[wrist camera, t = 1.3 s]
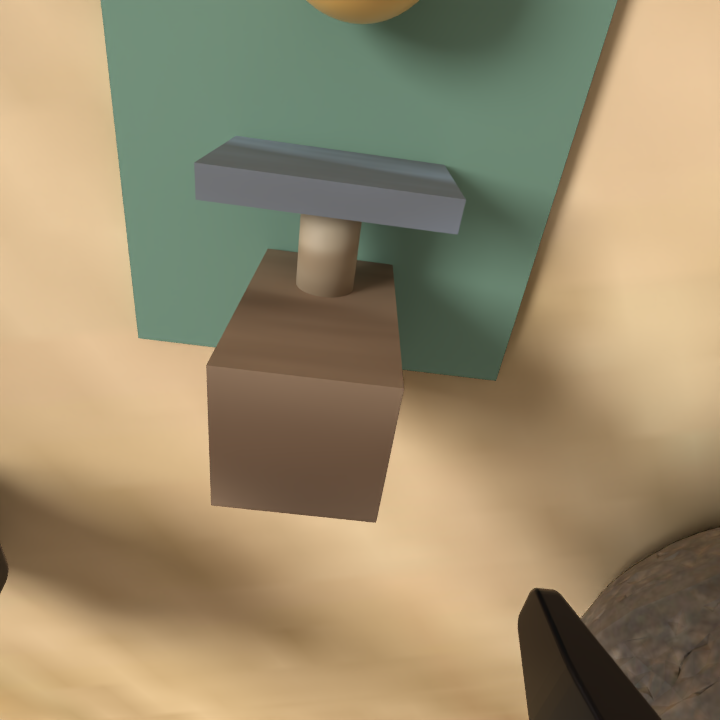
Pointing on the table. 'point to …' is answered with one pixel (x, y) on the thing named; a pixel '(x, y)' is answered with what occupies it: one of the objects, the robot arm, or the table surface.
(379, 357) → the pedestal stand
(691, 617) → the bowl
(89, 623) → the table surface
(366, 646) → the table surface
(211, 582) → the table surface
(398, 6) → the ball
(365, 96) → the pitch
